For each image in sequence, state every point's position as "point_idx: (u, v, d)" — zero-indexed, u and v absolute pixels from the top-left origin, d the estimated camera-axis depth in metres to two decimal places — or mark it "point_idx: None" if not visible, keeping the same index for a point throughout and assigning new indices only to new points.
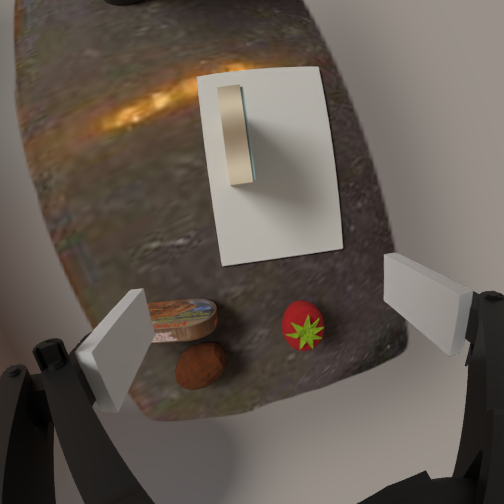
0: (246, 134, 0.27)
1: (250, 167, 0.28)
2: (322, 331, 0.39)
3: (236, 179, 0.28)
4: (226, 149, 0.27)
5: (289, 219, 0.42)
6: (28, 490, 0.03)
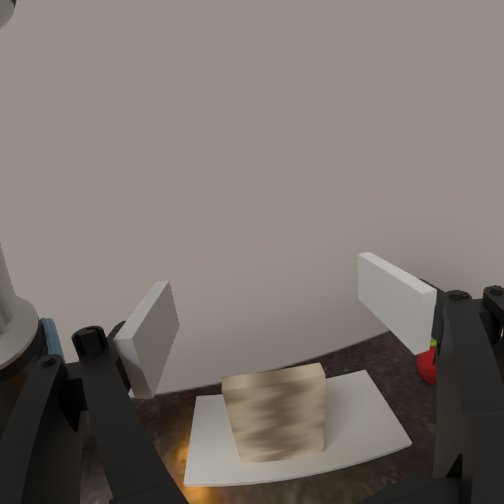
0: (274, 371, 0.28)
1: (306, 365, 0.28)
2: None
3: (319, 371, 0.27)
4: (289, 380, 0.26)
5: (350, 406, 0.37)
6: (52, 482, 0.04)
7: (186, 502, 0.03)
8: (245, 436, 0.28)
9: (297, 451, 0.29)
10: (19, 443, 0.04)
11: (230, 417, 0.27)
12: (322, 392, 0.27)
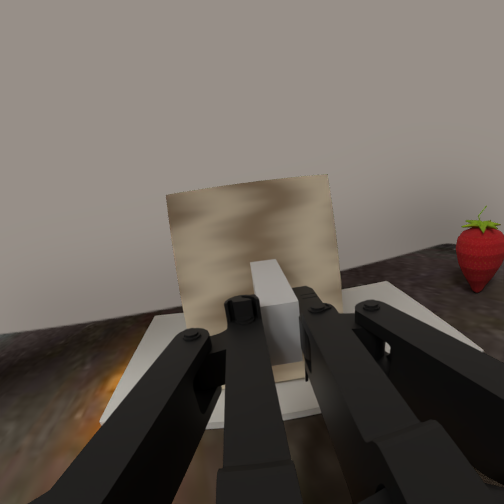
0: None
1: None
2: None
3: None
4: None
5: None
6: (157, 467, 0.05)
7: (297, 487, 0.03)
8: (202, 309, 0.18)
9: None
10: (133, 422, 0.05)
11: (177, 258, 0.18)
12: (328, 211, 0.18)
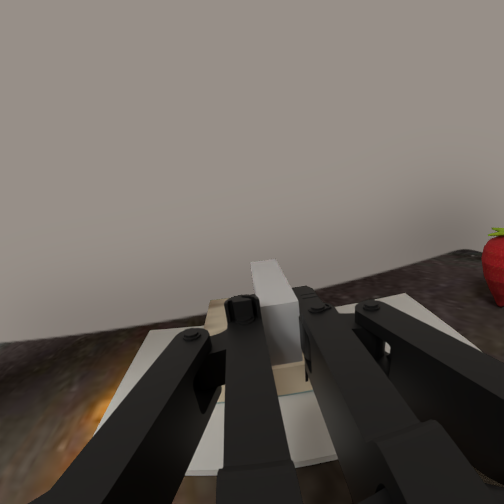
0: None
1: None
2: None
3: None
4: None
5: None
6: (157, 467, 0.05)
7: (297, 487, 0.03)
8: (217, 332, 0.22)
9: None
10: (132, 422, 0.05)
11: (208, 316, 0.26)
12: None
